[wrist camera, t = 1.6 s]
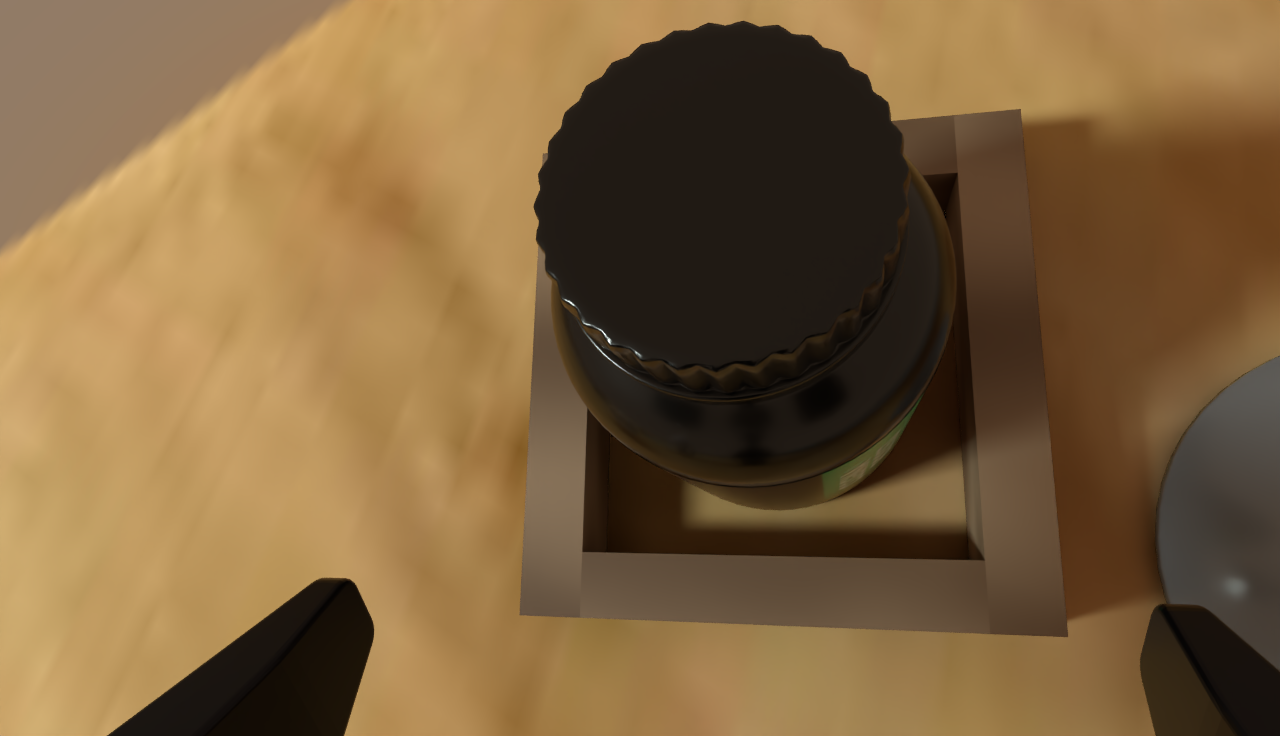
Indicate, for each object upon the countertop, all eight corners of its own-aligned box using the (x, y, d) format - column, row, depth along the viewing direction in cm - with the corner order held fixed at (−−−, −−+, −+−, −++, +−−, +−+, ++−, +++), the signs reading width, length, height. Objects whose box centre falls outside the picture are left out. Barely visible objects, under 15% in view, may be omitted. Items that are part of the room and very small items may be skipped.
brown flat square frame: (1042, 628, 19) (1068, 636, 17) (549, 609, 22) (519, 615, 20) (1002, 152, 22) (1020, 109, 20) (567, 188, 24) (542, 153, 22)
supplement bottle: (934, 496, 20) (1064, 417, 9) (663, 526, 22) (470, 492, 10) (887, 238, 22) (945, -109, 10) (638, 281, 23) (449, 15, 12)
